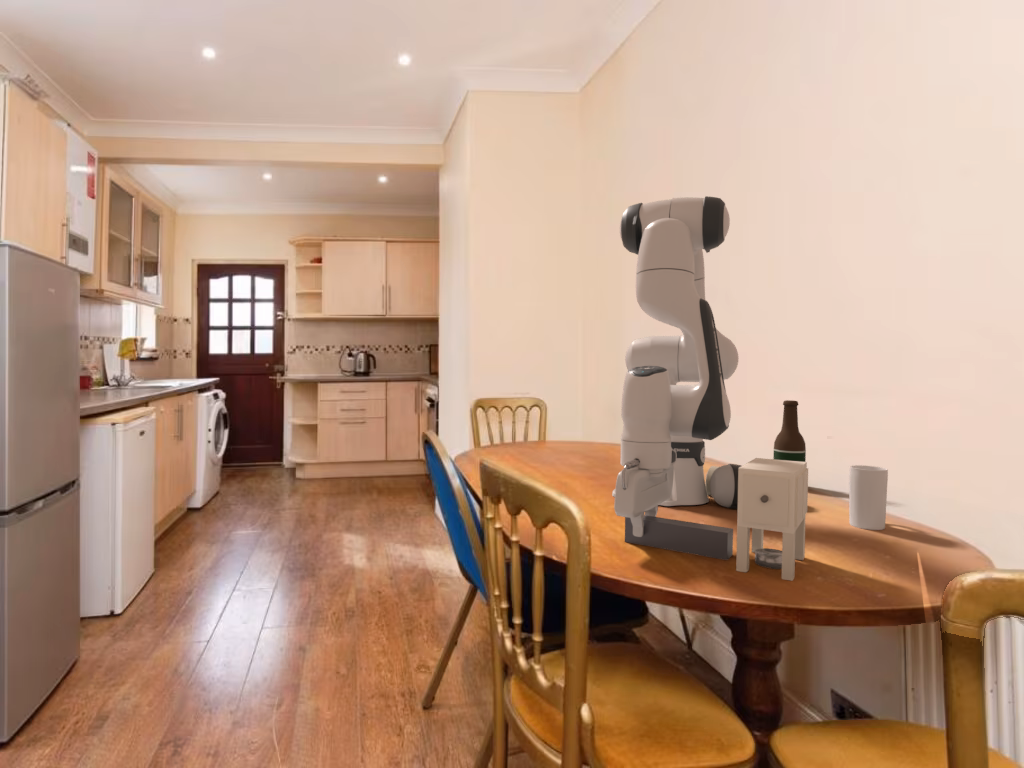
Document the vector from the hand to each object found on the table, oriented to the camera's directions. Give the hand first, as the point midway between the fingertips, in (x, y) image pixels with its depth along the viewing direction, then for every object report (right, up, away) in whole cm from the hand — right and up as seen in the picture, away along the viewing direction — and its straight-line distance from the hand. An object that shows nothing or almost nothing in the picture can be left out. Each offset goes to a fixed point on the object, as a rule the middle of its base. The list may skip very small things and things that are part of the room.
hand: (643, 532), depth 109 cm
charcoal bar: (+5, -2, -3) cm, 6 cm away
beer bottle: (+50, -2, +51) cm, 71 cm away
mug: (+49, -2, +16) cm, 52 cm away
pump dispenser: (+22, +4, +29) cm, 37 cm away
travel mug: (+25, +2, +42) cm, 49 cm away
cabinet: (+18, -2, -11) cm, 22 cm away
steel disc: (+18, -2, -11) cm, 22 cm away
